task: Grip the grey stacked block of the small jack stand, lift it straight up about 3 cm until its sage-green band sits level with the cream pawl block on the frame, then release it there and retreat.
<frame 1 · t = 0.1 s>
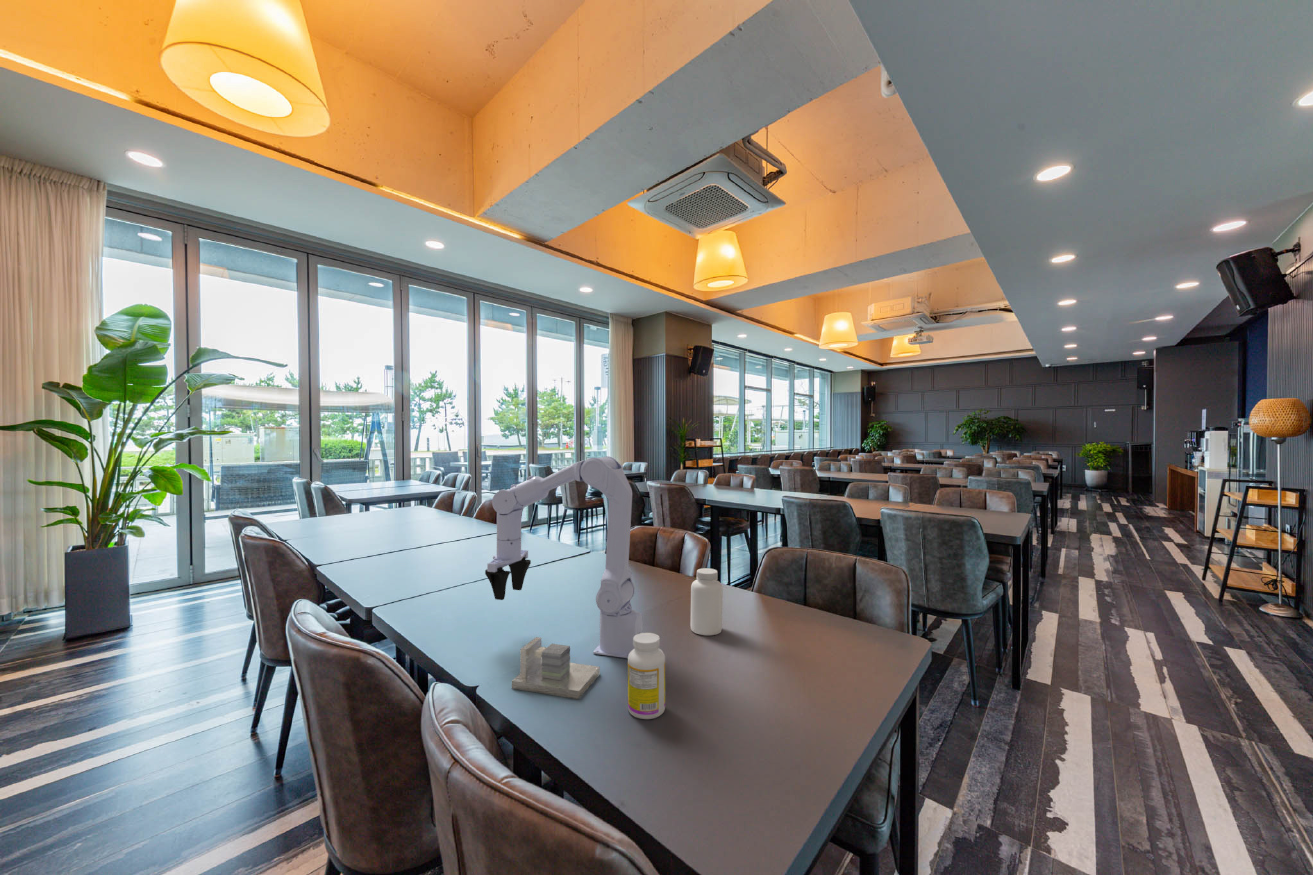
hand: (508, 594, 118), 10 cm above the table, fingers open, 7 cm apart
pill bottle: (706, 630, 122), on the table
grey stacked block: (555, 661, 95), point 4 cm above the table, slide at 0.0 cm
supplement bottle: (646, 711, 85), on the table
stand frame: (557, 681, 96), on the table
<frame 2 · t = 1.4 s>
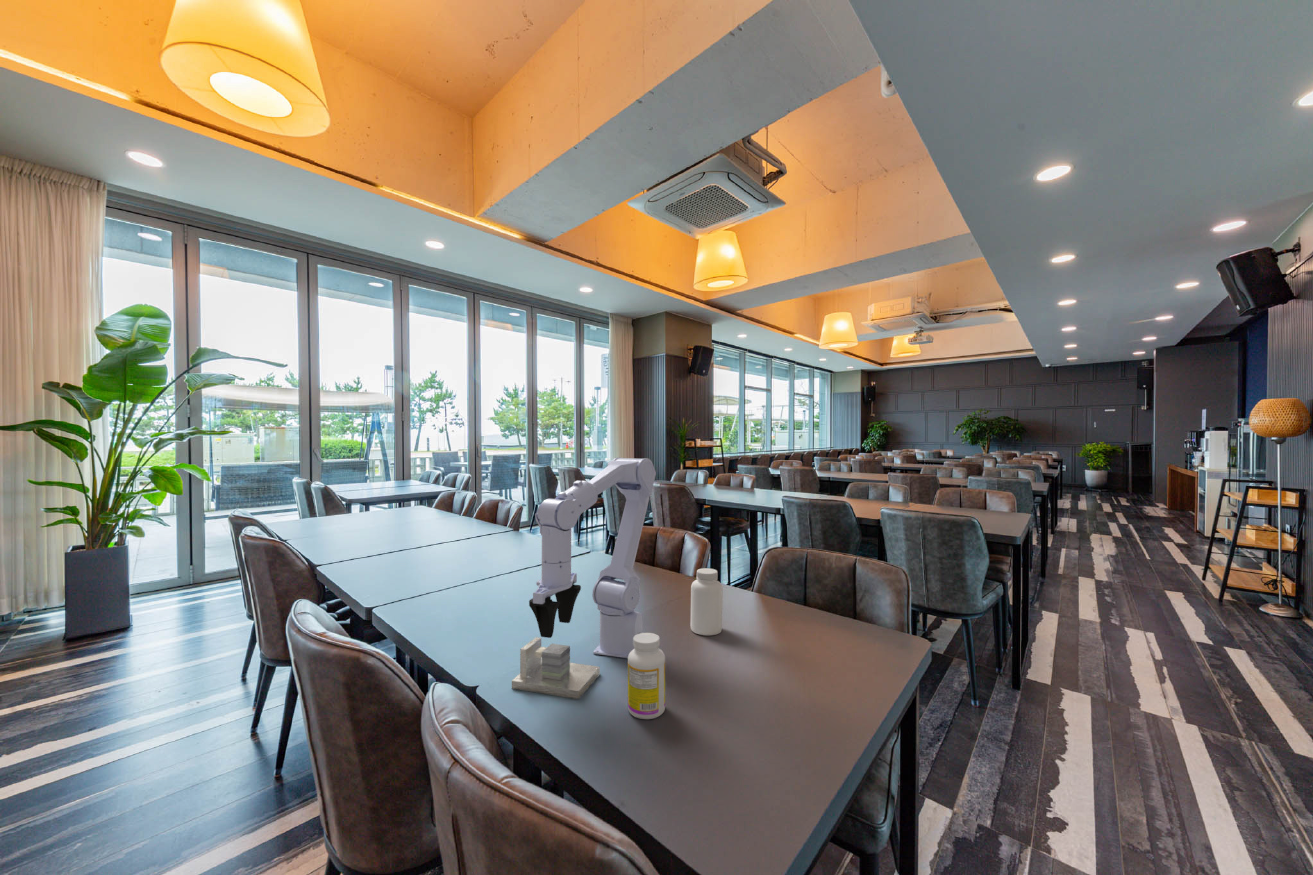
hand: (556, 629, 95), 10 cm above the table, fingers open, 7 cm apart
nothing on the table moved.
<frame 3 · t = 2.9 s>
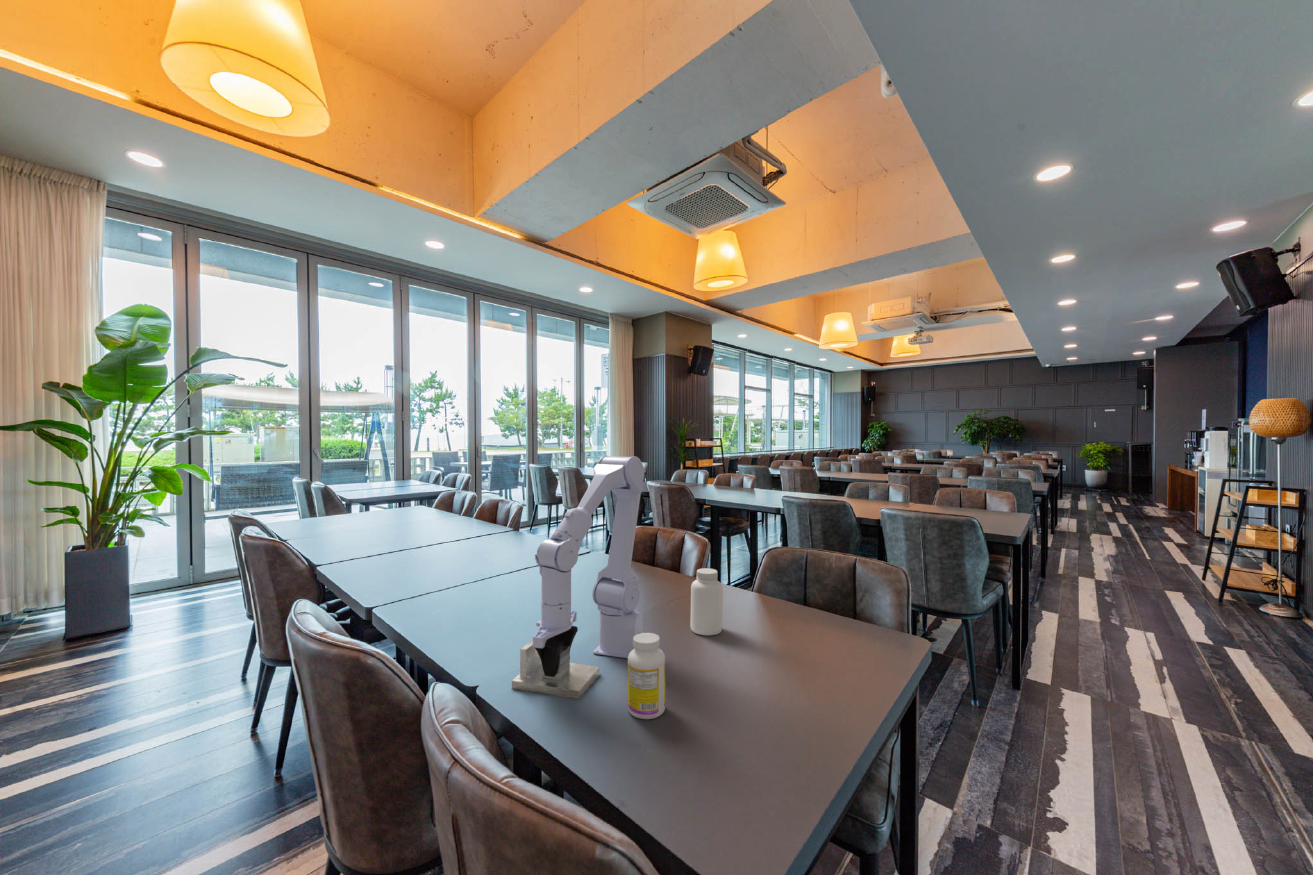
hand: (555, 669, 95), 2 cm above the table, fingers closed on grey stacked block, 4 cm apart
grey stacked block: (555, 661, 95), point 4 cm above the table, slide at 0.0 cm, touching gripper
everything else where it was.
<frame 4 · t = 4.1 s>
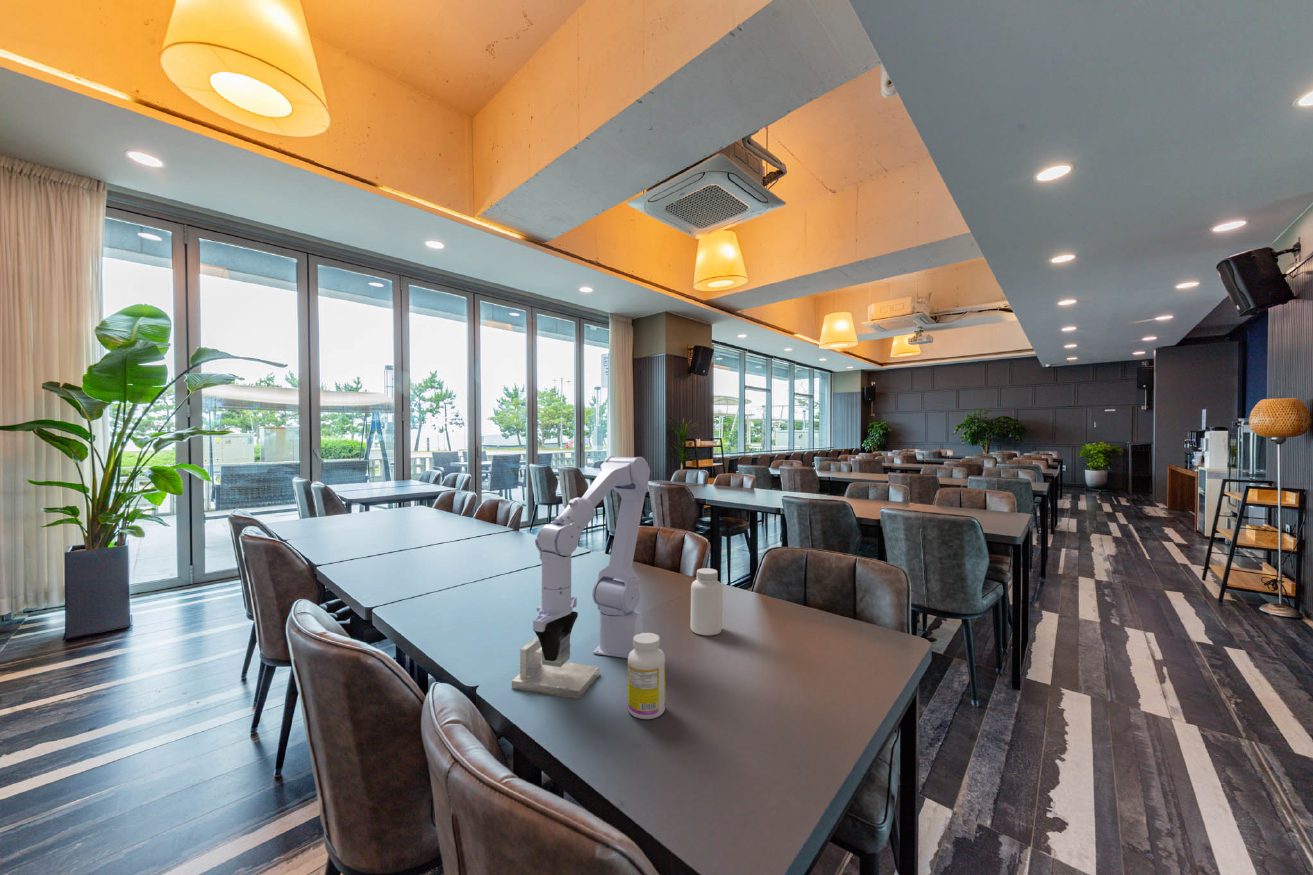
hand: (556, 654, 95), 5 cm above the table, fingers closed on grey stacked block, 4 cm apart
grey stacked block: (556, 648, 95), point 7 cm above the table, slide at 2.6 cm, touching gripper
everything else where it was.
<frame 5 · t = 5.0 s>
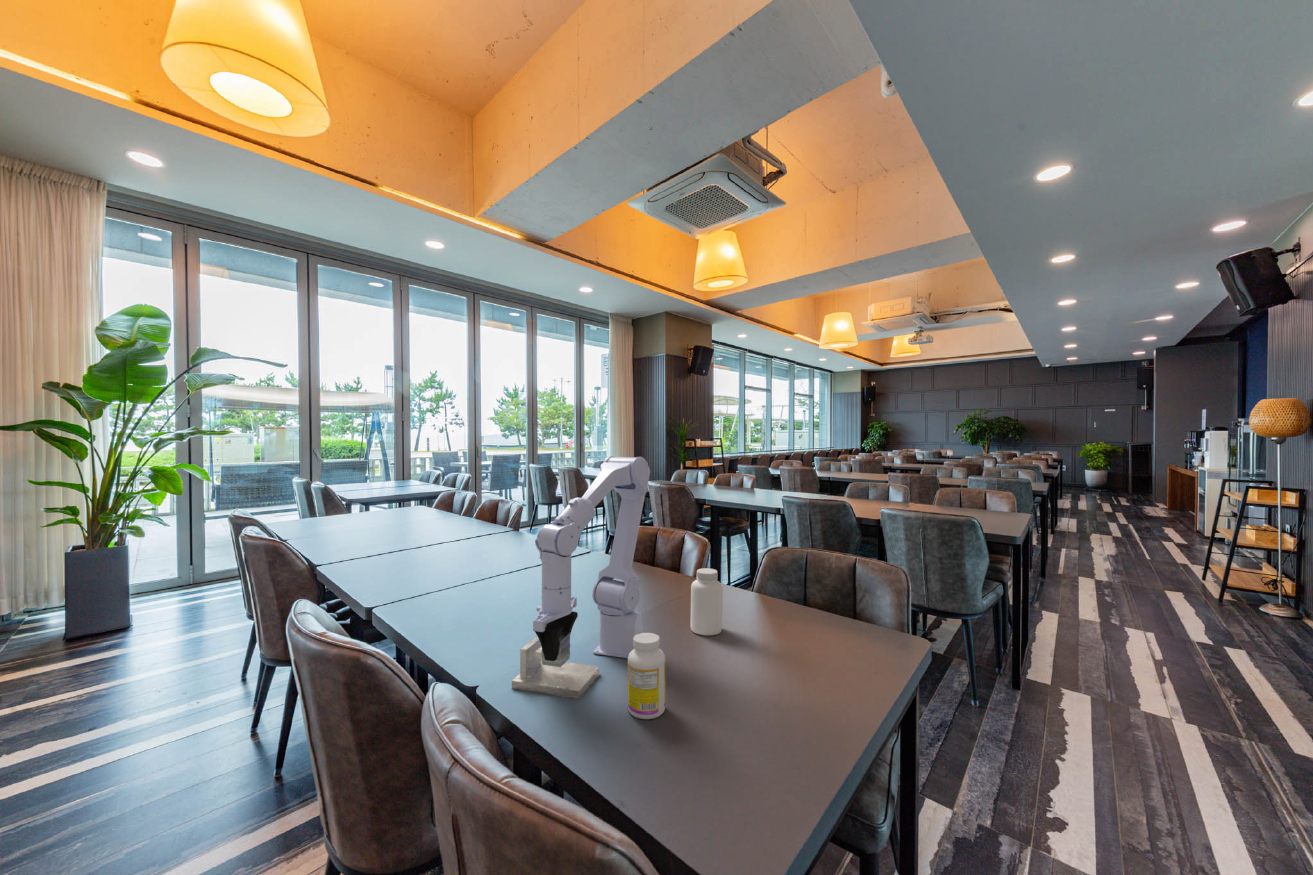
hand: (556, 654, 95), 5 cm above the table, fingers closed on grey stacked block, 4 cm apart
grey stacked block: (556, 648, 95), point 7 cm above the table, slide at 2.6 cm, touching gripper
everything else where it was.
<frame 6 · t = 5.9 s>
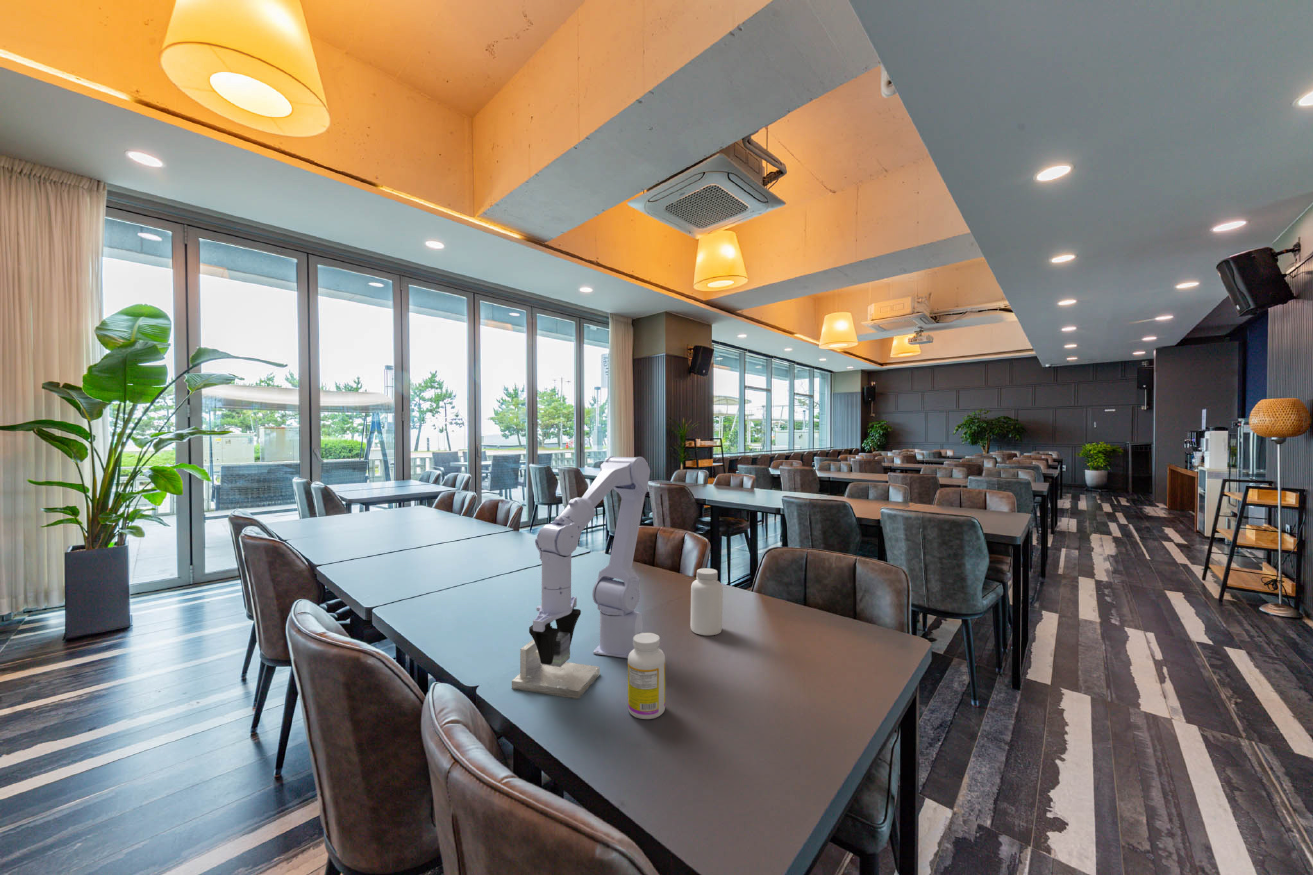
hand: (556, 654, 95), 5 cm above the table, fingers open, 7 cm apart
grey stacked block: (556, 648, 95), point 7 cm above the table, slide at 2.6 cm
everything else where it was.
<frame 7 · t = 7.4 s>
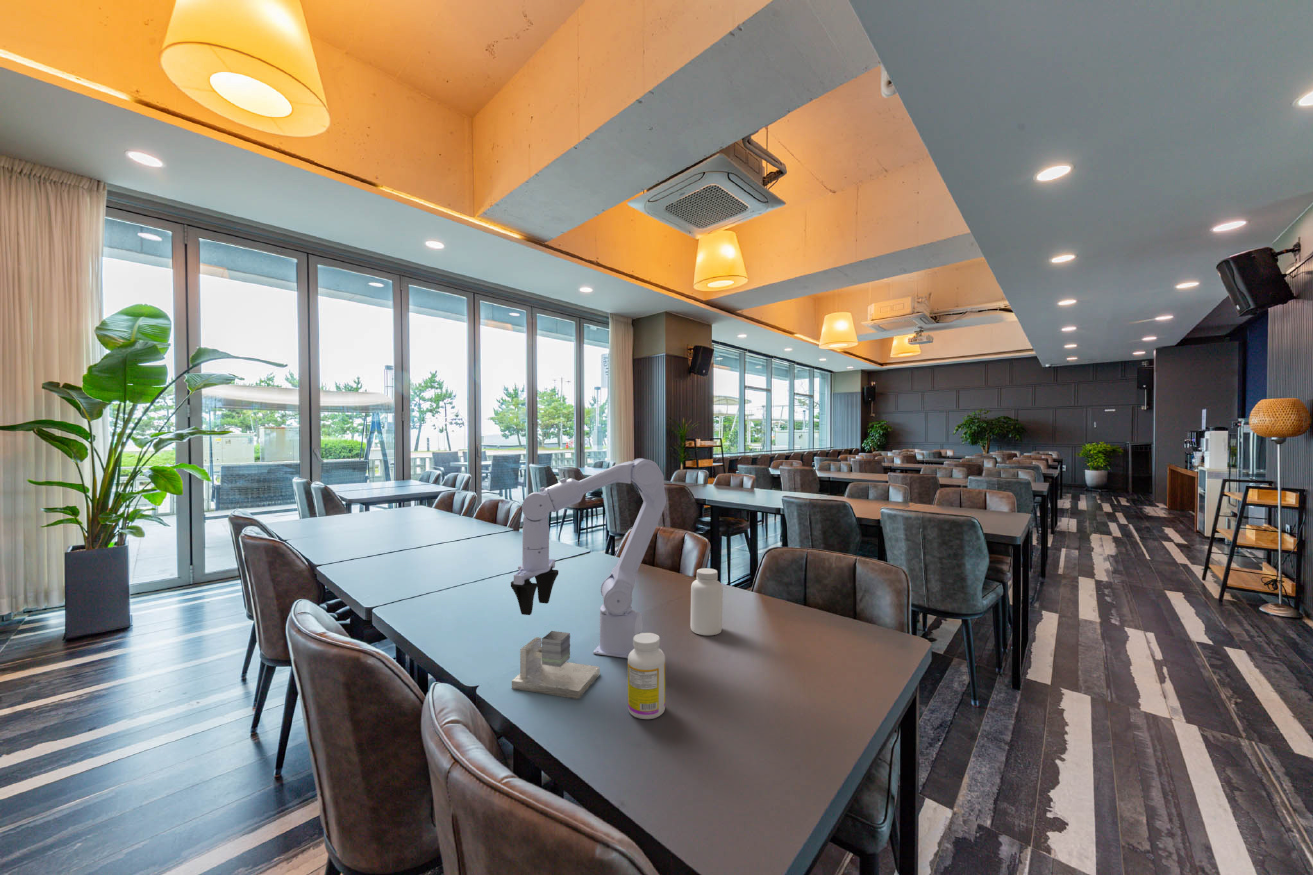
hand: (535, 608, 107), 10 cm above the table, fingers open, 7 cm apart
nothing on the table moved.
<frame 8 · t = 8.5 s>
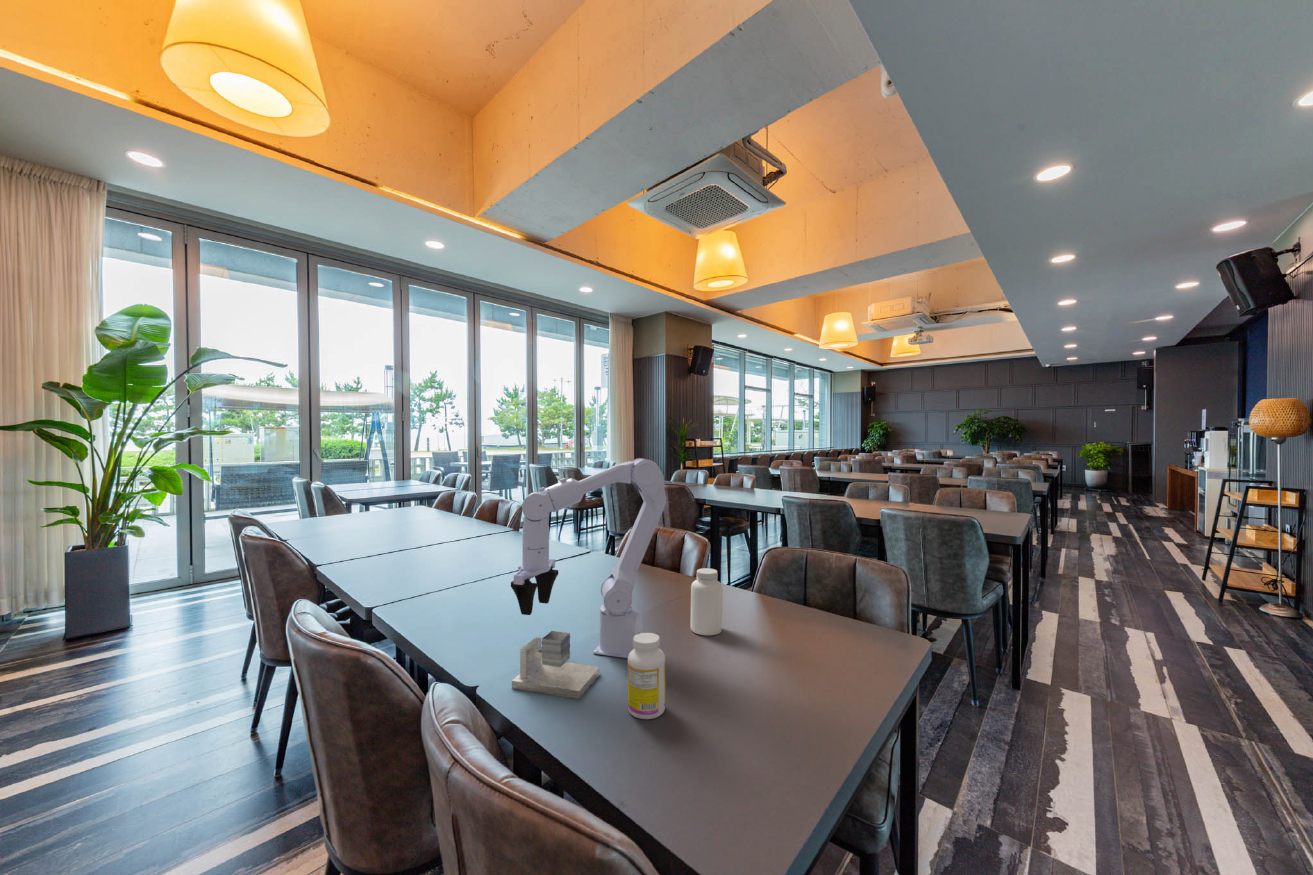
hand: (535, 608, 107), 10 cm above the table, fingers open, 7 cm apart
nothing on the table moved.
at the end: grey stacked block slide at 2.6 cm; the gripper is holding nothing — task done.
